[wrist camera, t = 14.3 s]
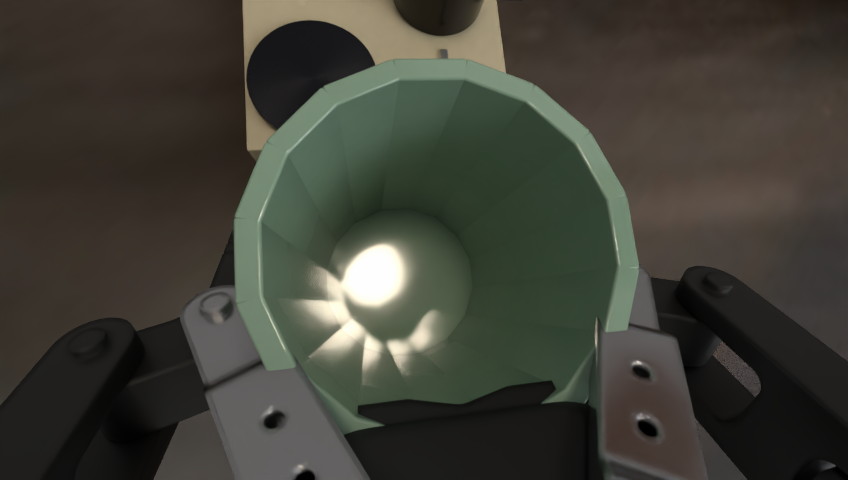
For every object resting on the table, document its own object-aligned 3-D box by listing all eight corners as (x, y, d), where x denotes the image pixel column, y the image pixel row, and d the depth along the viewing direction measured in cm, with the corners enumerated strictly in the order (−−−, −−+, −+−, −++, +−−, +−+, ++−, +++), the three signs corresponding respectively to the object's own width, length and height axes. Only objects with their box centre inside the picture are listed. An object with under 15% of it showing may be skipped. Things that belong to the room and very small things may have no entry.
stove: (493, -30, 23) (512, -81, 20) (518, 161, 22) (543, 138, 19) (256, -37, 21) (238, -94, 18) (264, 173, 20) (245, 149, 17)
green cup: (468, 199, 17) (604, 57, 7) (485, 353, 16) (668, 431, 6) (314, 208, 16) (228, 57, 6) (323, 372, 15) (238, 499, 5)
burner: (373, 27, 19) (373, 20, 18) (382, 141, 18) (383, 136, 17) (247, 26, 18) (243, 18, 17) (251, 145, 17) (247, 141, 16)
